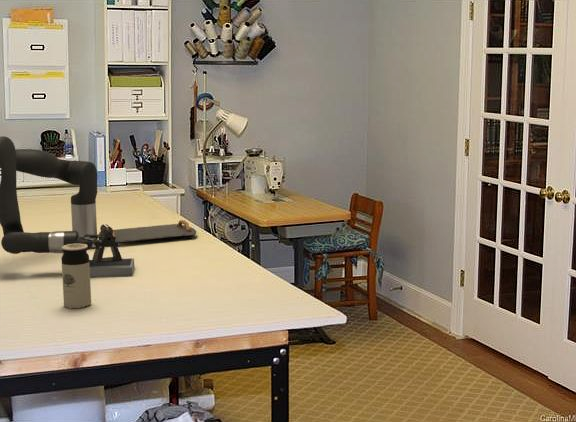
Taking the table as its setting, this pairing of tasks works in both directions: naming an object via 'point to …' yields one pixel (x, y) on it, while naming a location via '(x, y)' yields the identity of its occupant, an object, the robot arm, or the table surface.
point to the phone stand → (99, 252)
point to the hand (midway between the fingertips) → (114, 241)
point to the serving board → (153, 232)
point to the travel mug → (76, 276)
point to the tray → (112, 268)
